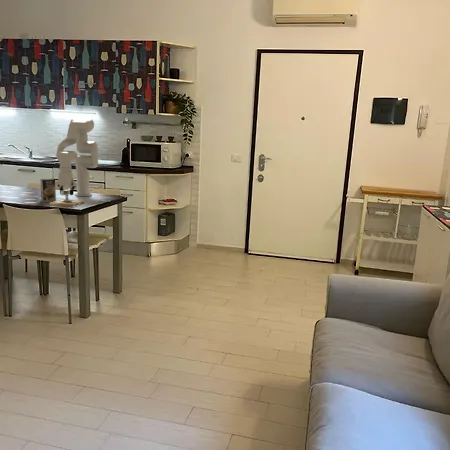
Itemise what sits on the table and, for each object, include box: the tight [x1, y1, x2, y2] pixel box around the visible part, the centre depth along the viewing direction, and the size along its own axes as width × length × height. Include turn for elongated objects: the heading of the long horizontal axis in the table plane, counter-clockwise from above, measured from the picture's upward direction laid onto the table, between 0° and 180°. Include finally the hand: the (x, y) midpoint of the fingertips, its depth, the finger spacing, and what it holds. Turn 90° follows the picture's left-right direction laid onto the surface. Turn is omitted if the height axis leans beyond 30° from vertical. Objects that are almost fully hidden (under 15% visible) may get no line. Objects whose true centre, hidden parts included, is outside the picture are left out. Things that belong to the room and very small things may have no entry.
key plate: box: [48, 198, 85, 208], centre depth 334 cm, size 17×17×2 cm
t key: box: [60, 188, 71, 202], centre depth 333 cm, size 10×4×8 cm, turn 153°
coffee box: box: [40, 178, 57, 203], centre depth 342 cm, size 9×6×16 cm
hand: (66, 194), depth 333 cm, fingers open, 7 cm apart
